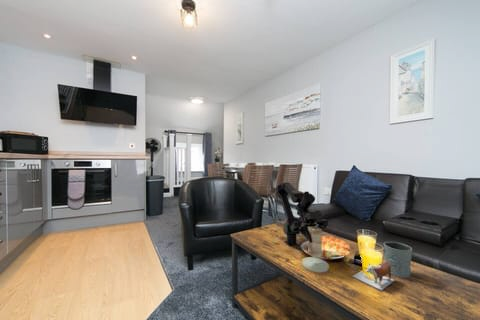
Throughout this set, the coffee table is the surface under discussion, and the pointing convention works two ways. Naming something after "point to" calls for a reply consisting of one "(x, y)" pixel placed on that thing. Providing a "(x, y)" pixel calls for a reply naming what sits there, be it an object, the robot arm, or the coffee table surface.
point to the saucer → (315, 265)
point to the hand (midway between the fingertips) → (316, 242)
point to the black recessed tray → (356, 260)
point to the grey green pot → (398, 258)
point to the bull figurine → (380, 271)
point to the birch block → (315, 242)
